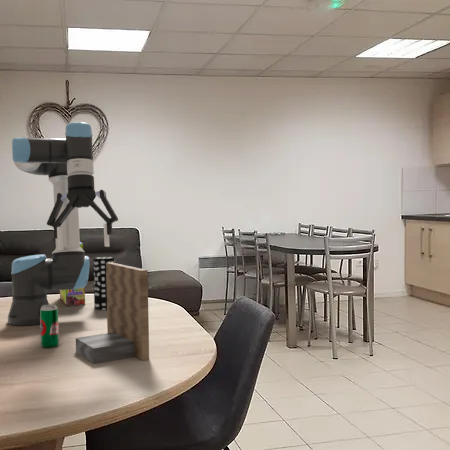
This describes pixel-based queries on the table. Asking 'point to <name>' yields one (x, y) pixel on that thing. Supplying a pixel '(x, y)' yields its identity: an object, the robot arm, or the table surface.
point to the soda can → (49, 326)
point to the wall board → (121, 318)
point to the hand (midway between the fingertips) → (83, 248)
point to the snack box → (73, 294)
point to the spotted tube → (100, 281)
